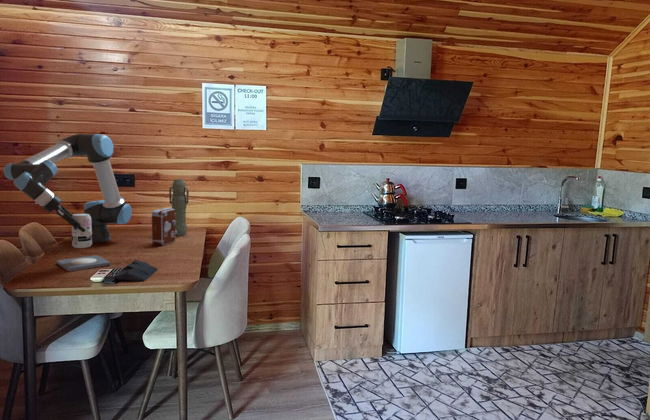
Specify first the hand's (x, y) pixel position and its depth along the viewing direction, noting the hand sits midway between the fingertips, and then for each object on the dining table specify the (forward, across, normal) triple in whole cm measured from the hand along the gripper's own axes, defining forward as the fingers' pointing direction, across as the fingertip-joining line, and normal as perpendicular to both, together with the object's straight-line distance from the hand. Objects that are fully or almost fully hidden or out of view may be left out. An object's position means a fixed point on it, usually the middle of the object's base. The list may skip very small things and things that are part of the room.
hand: (89, 234), depth 222 cm
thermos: (+48, -58, +27) cm, 80 cm away
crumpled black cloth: (+22, +26, +1) cm, 35 cm away
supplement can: (+2, 0, -6) cm, 7 cm away
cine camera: (+40, -38, +19) cm, 58 cm away
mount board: (+8, 0, -12) cm, 15 cm away
